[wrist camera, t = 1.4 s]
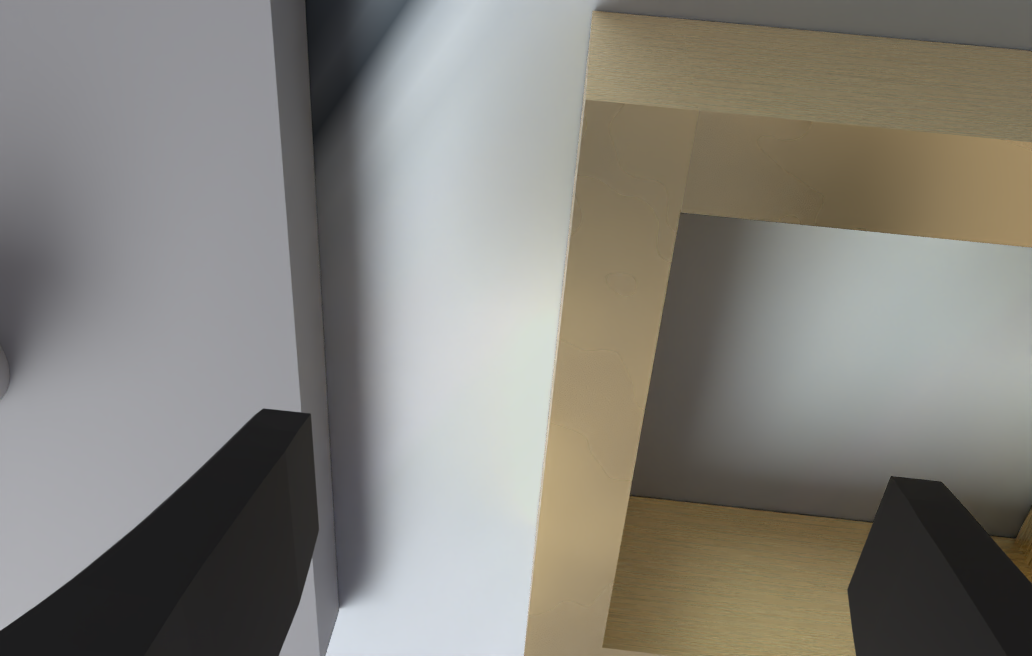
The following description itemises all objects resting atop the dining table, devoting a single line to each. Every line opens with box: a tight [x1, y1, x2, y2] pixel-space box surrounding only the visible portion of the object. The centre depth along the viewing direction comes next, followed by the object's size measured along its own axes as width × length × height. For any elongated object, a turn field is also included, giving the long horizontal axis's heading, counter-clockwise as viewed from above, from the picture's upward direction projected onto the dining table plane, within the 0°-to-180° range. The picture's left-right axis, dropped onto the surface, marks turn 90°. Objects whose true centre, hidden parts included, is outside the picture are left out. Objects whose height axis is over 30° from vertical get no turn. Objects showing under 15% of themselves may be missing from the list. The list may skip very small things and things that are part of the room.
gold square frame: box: [524, 11, 1032, 656], centre depth 14 cm, size 10×10×4 cm
